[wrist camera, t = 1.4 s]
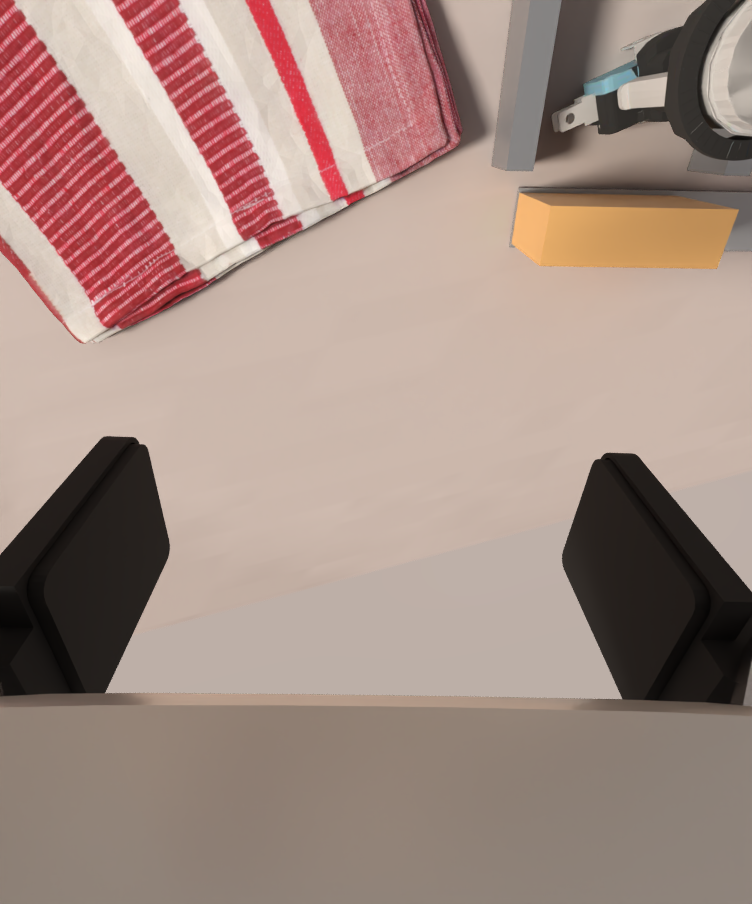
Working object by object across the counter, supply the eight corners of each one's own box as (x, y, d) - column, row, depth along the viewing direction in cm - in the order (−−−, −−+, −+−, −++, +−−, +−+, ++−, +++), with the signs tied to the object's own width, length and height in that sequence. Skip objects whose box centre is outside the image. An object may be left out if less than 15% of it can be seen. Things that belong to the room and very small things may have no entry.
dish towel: (467, 139, 25) (478, 141, 22) (96, 344, 30) (75, 361, 28) (284, -416, 16) (272, -503, 14) (-188, 5, 21) (-252, -9, 19)
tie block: (519, 192, 25) (550, 205, 21) (676, 195, 25) (738, 209, 21) (511, 243, 26) (539, 265, 22) (660, 246, 27) (716, 268, 22)
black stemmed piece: (559, 180, 25) (658, 208, 17) (536, 55, 22) (640, 13, 14) (698, 120, 24) (881, 117, 15) (692, -21, 21) (909, -116, 13)
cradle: (513, -9, 21) (534, -27, 19) (948, 6, 22) (1024, -10, 19) (481, 246, 27) (493, 258, 24) (829, 252, 27) (876, 264, 25)
